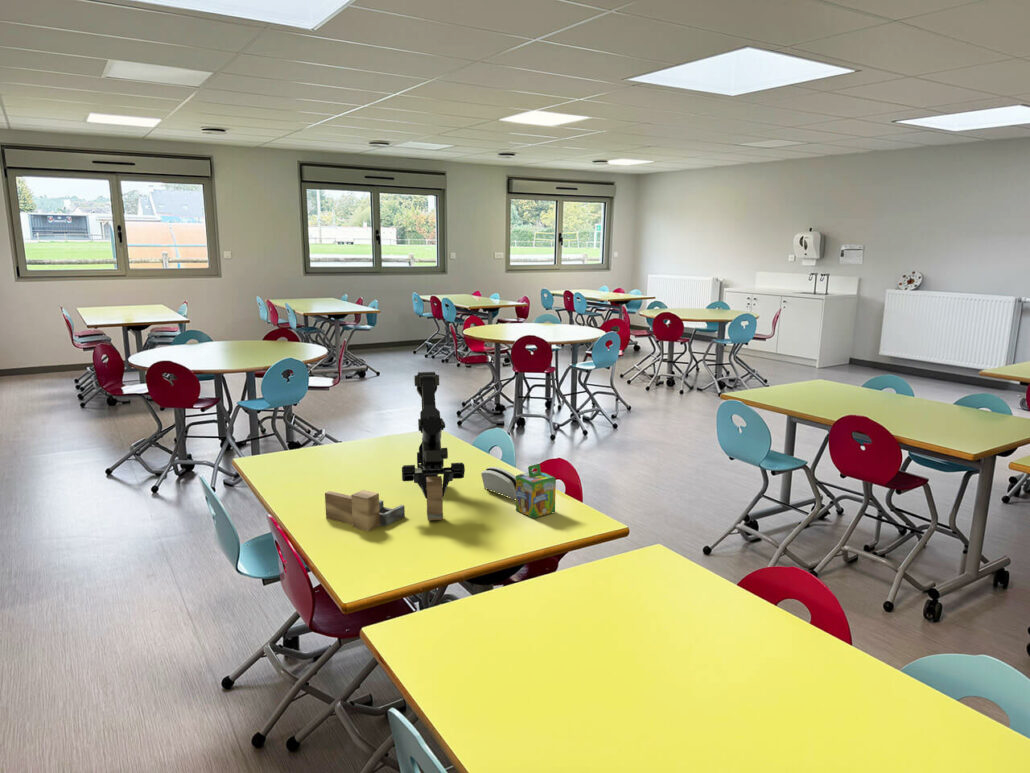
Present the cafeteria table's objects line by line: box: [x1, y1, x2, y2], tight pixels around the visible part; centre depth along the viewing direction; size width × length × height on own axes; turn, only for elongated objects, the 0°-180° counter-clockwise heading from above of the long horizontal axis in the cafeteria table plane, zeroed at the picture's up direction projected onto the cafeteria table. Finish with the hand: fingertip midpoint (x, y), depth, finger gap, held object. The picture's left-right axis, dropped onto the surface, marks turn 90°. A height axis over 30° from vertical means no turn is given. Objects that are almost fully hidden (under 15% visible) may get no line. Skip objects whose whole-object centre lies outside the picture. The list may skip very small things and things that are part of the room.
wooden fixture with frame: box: [324, 489, 406, 532], centre depth 210 cm, size 14×20×10 cm
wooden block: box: [426, 475, 444, 521], centre depth 208 cm, size 5×5×12 cm
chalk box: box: [515, 463, 557, 519], centre depth 215 cm, size 9×9×15 cm
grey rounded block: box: [481, 466, 517, 500], centre depth 232 cm, size 17×5×10 cm, turn 42°
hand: (434, 497), depth 207 cm, fingers closed on wooden block, 4 cm apart
